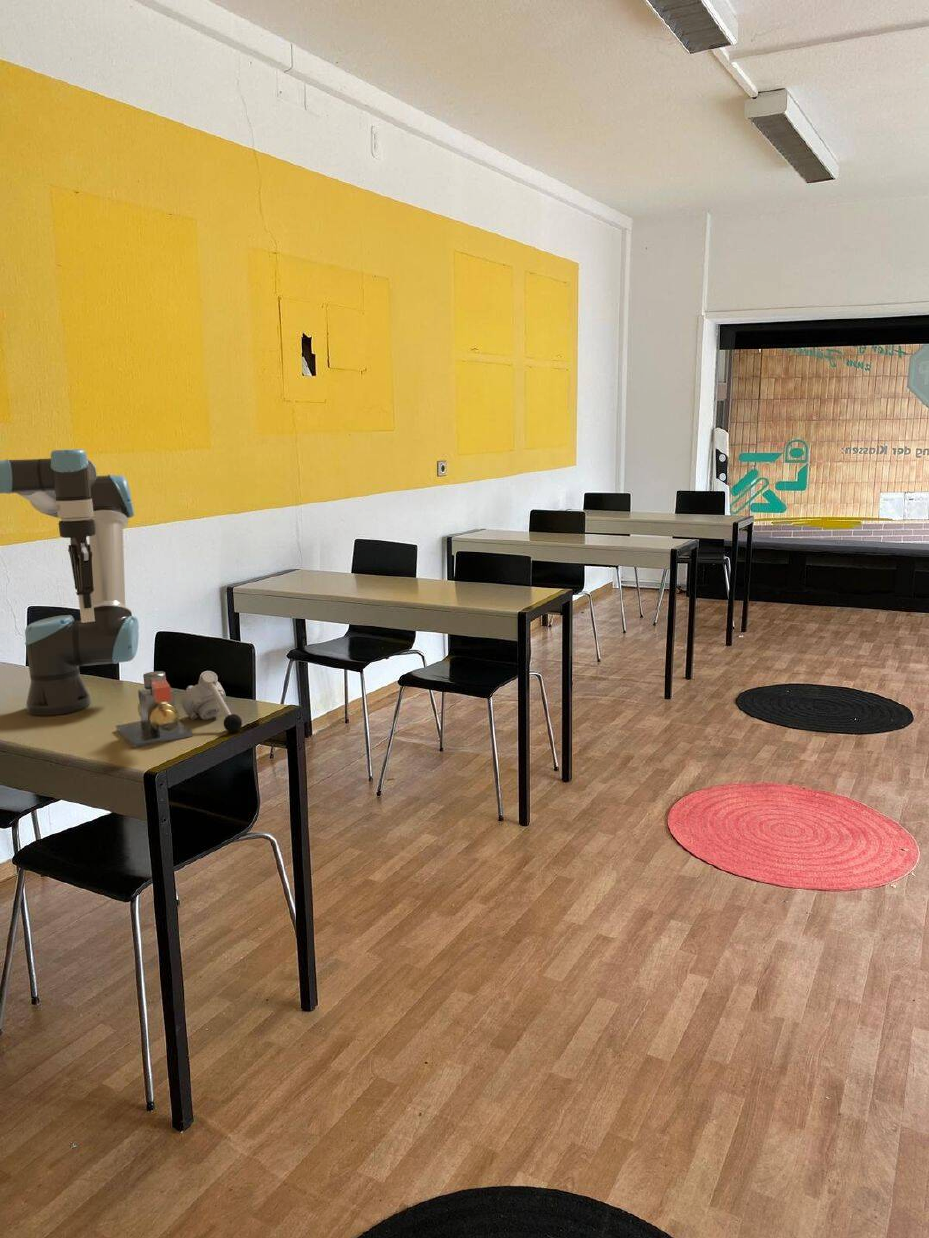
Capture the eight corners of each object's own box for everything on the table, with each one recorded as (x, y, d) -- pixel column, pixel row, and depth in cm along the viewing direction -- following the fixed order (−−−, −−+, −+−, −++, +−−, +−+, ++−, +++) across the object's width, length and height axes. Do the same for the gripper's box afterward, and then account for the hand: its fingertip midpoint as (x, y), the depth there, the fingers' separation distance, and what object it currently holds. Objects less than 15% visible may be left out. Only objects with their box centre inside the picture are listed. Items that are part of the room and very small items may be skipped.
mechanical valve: (215, 697, 235) (225, 660, 225) (247, 753, 228) (258, 718, 218) (176, 709, 229) (184, 672, 219) (207, 767, 222) (217, 731, 211)
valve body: (116, 730, 221) (111, 685, 218) (171, 719, 228) (167, 675, 225) (134, 748, 207) (128, 700, 205) (192, 736, 214) (187, 689, 212)
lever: (152, 703, 203) (151, 689, 202) (143, 686, 217) (141, 672, 217) (175, 700, 205) (174, 686, 204) (164, 683, 219) (163, 669, 219)
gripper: (52, 518, 214) (65, 619, 219) (64, 522, 203) (77, 628, 208) (87, 515, 218) (98, 615, 223) (100, 519, 207) (112, 623, 212)
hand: (88, 621), depth 215 cm, fingers closed
